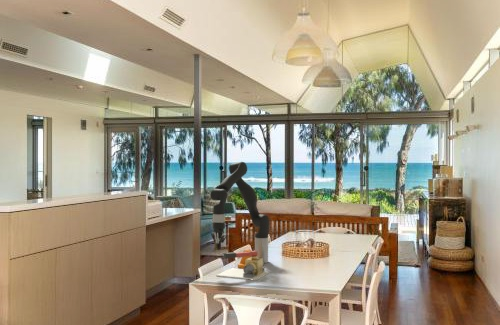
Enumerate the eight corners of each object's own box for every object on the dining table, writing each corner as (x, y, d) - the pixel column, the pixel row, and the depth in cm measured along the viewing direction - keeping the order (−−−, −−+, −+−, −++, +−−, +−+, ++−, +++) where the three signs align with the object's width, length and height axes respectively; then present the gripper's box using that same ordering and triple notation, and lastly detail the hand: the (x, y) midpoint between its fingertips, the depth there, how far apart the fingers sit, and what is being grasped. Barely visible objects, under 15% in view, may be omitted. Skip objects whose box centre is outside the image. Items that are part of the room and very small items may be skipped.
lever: (255, 254, 313) (255, 250, 313) (258, 255, 309) (258, 251, 309) (223, 257, 303) (223, 252, 303) (226, 258, 299) (226, 254, 299)
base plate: (231, 269, 327) (231, 268, 327) (268, 272, 317) (268, 271, 317) (216, 276, 307) (216, 275, 307) (256, 280, 297) (256, 278, 297)
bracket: (237, 268, 329) (237, 250, 329) (240, 266, 336) (240, 248, 336) (252, 270, 326) (252, 251, 326) (256, 267, 333) (256, 249, 332)
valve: (254, 269, 322) (254, 252, 322) (266, 270, 319) (266, 253, 319) (241, 277, 302) (241, 258, 302) (253, 278, 299) (253, 259, 299)
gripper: (207, 220, 313) (207, 248, 313) (220, 222, 304) (220, 251, 304) (216, 219, 319) (216, 247, 319) (230, 221, 309) (230, 250, 309)
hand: (218, 249), depth 311 cm, fingers closed
